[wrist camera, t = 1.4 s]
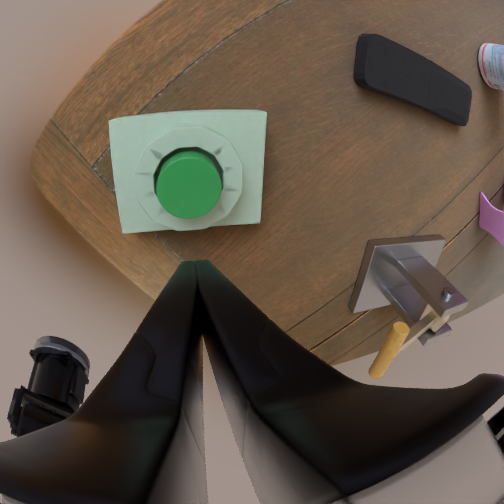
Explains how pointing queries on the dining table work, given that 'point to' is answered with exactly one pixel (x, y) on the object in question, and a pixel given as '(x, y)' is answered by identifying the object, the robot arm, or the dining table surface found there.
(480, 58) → the pill bottle
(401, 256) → the latch bracket
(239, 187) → the push button base
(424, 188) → the dining table surface
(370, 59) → the remote control
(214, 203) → the button
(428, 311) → the latch lever
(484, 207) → the toy chair
